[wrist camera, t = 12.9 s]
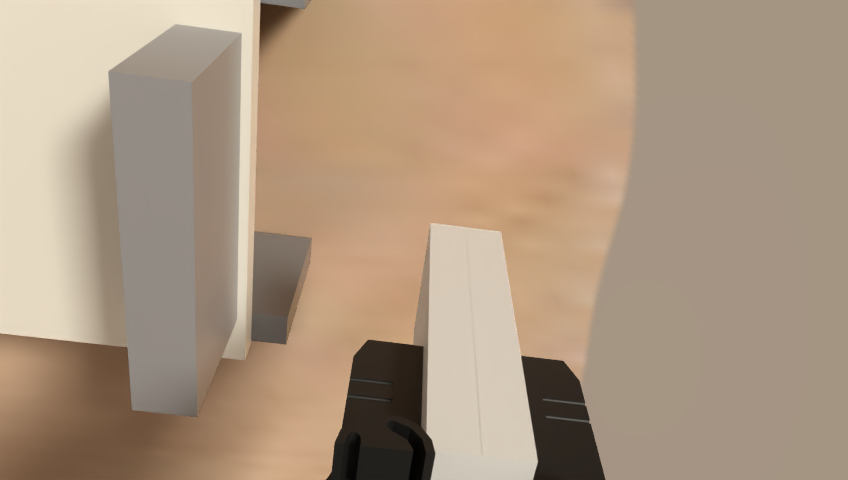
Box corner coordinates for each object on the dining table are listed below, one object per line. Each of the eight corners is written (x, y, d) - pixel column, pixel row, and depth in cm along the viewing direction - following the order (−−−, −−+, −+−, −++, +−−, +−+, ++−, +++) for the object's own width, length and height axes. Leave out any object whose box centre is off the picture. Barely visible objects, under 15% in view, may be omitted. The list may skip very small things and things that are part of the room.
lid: (-94, 305, 21) (-223, 418, 17) (-189, -98, 16) (-404, -78, 12) (251, 343, 22) (208, 462, 18) (261, -35, 17) (204, 5, 13)
